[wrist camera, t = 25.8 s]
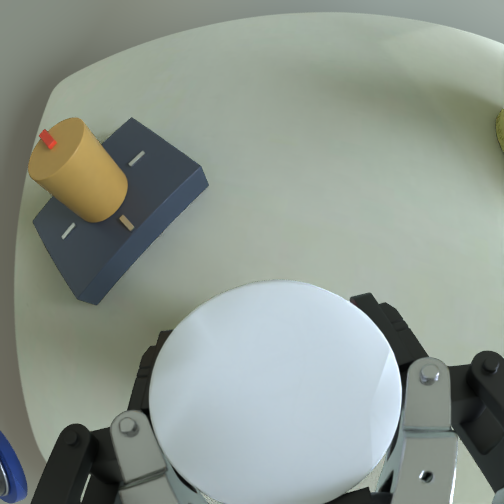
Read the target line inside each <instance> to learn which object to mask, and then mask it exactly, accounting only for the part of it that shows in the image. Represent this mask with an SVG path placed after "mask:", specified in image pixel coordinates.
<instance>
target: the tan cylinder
mask: <svg viewBox="0 0 504 504" xmlns="http://www.w3.org/2000/svg"><path fill="white" fill-rule="evenodd" d="M39 137H40V138H41V139H40V141H39V142H38V143H37V145H36V146H35V148H34V150H33V152H32V154H31V157H30V160H29V164H28V172H29V175H30V177H31V178H32V179H33V180H34V181H35V182H37V183H38V184H39V185H40V186H41V187H43V188H44V189H45V190H46V191H48V192H49V193H50V194H51V195H53V196H54V197H55V198H56V199H58V200H59V201H60V202H61V203H63V204H64V205H65V206H66V207H68V208H69V209H70V210H72V211H73V212H74V213H75V214H77V215H78V216H79V217H81V218H82V219H83V220H85V221H87V222H91V223H96V222H101V221H103V220H105V219H107V218H109V217H110V216H111V215H113V214H114V213H115V212H116V211H117V210H118V208H119V207H120V206H121V204H122V203H123V201H124V199H125V196H126V193H127V188H128V183H127V178H126V176H125V174H124V173H123V172H122V170H121V169H120V168H119V167H118V165H117V164H116V163H115V162H114V160H113V159H112V158H111V157H110V155H109V154H108V153H107V151H106V150H105V149H104V148H103V146H102V145H101V144H100V143H99V141H98V140H97V139H96V137H95V136H94V135H93V134H92V132H91V131H90V130H89V128H88V127H87V126H86V124H85V123H84V122H83V121H82V120H81V119H79V118H68V119H65V120H63V121H61V122H59V123H58V124H56V125H55V126H53V127H52V128H51V129H50V130H49V131H46V130H45V129H44V130H43V131H42V133H41V134H40V135H39Z"/></svg>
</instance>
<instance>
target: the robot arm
mask: <svg viewBox="0 0 504 504" xmlns="http://www.w3.org/2000/svg"><path fill="white" fill-rule="evenodd" d="M350 303H352V304H353V305H355V306H356V307H357V308H359V309H360V310H361V311H362V312H364V313H365V314H366V315H367V316H368V317H369V318H370V319H371V320H372V321H373V322H374V323H375V325H376V326H377V327H378V328H379V330H380V331H381V332H382V333H383V335H384V337H385V338H386V340H387V341H388V343H389V345H390V347H391V349H392V351H393V353H394V356H395V359H396V362H397V365H398V368H399V373H400V379H401V386H402V399H401V411H400V416H399V421H398V425H397V428H396V431H395V434H394V436H393V439H392V441H391V443H390V445H389V447H388V449H387V452H386V456H385V461H384V465H383V468H382V471H381V474H380V477H379V480H378V483H377V487H376V491H375V492H371V493H370V490H369V487H366V488H363V489H360V490H356V491H353V492H349V493H346V494H343V495H341V496H339V497H337V498H335V499H333V500H331V501H329V502H327V503H324V504H452V498H453V491H454V483H455V474H456V464H457V449H458V436H459V438H460V439H461V441H462V442H463V444H464V445H465V447H466V448H467V450H468V451H469V453H470V454H471V456H472V457H473V459H474V460H475V462H476V463H477V465H478V467H479V468H480V470H481V471H482V473H483V474H484V476H485V478H486V479H487V481H488V482H489V484H490V486H491V487H492V489H493V491H494V492H495V496H494V498H493V501H492V504H504V358H503V357H502V356H501V355H499V354H498V353H496V352H493V351H482V352H480V353H478V354H477V355H476V356H475V357H474V358H473V360H472V362H471V364H467V365H459V366H446V365H445V363H443V362H442V361H441V360H439V359H436V358H432V357H429V356H428V355H427V353H426V352H425V350H424V349H423V347H422V346H421V344H420V343H419V341H418V340H417V338H416V337H415V335H414V334H413V332H412V331H411V329H410V328H408V325H407V324H406V322H405V321H403V318H402V317H401V315H400V314H399V312H398V311H397V310H396V309H395V308H394V307H392V306H390V305H389V304H387V303H386V302H385V303H381V304H378V302H377V301H376V299H375V298H374V297H373V295H372V294H371V293H365V294H361V295H357V296H353V297H351V298H350ZM172 331H173V330H167V331H161V332H160V333H159V337H158V340H157V344H156V345H155V346H150V347H149V348H148V349H147V351H146V352H145V353H144V355H143V356H142V359H141V362H140V366H139V368H140V369H138V373H137V378H136V380H135V383H134V387H133V390H132V394H131V398H130V401H129V405H128V409H127V411H125V412H123V413H121V414H119V415H118V416H117V417H116V418H115V419H114V420H113V422H112V424H111V426H110V427H108V428H104V429H100V430H95V431H91V432H90V431H89V430H88V429H87V428H86V427H85V426H83V425H81V424H71V425H69V426H67V427H66V428H64V429H63V430H62V432H61V433H60V435H59V437H58V439H57V441H56V444H55V446H54V448H53V450H52V453H51V455H50V457H49V459H48V462H47V464H46V467H45V469H44V471H43V474H42V476H41V479H40V481H39V483H38V486H37V489H36V491H35V494H34V497H33V499H32V502H31V504H209V503H208V502H207V501H206V500H205V498H204V497H203V496H202V494H201V493H200V491H199V490H197V489H196V488H195V487H193V486H192V485H191V484H190V483H188V482H187V481H186V480H185V479H184V478H183V477H182V476H181V475H180V474H179V473H178V472H177V471H176V470H175V468H174V467H173V466H172V465H171V463H170V462H169V461H168V459H167V458H166V456H165V455H164V452H163V450H162V449H161V447H160V446H159V443H158V440H157V438H156V436H155V433H154V429H153V426H152V422H151V418H150V409H149V387H150V381H151V376H152V371H153V368H154V365H155V362H156V359H157V357H158V354H159V352H160V350H161V348H162V346H163V345H164V343H165V341H166V340H167V338H168V337H169V335H170V334H171V333H172ZM451 426H452V427H453V429H454V431H453V430H452V429H451ZM457 435H458V436H457ZM89 474H90V475H91V477H90V480H89V482H88V485H87V488H86V491H85V494H84V497H83V500H82V503H81V502H80V498H81V495H82V492H83V489H84V486H85V483H86V480H87V478H88V475H89ZM9 493H10V482H9V478H8V475H7V472H6V469H5V467H4V465H3V462H2V460H1V458H0V496H6V495H8V494H9Z"/></svg>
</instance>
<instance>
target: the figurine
mask: <svg viewBox="0 0 504 504" xmlns="http://www.w3.org/2000/svg"><path fill="white" fill-rule="evenodd" d="M496 134H497V138H498V141H499V143H500V146H501V148H502V150H503V152H504V109H502V110H501V112H500V113H499V115H498V116H497V119H496Z"/></svg>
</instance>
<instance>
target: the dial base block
mask: <svg viewBox="0 0 504 504" xmlns="http://www.w3.org/2000/svg"><path fill="white" fill-rule="evenodd" d="M101 145H102V146H103V148H104V149H105V150H106V151H107V153H108V154H109V155H110V157H111V158H112V159H113V160H114V162H115V163H116V164H117V165H118V167H119V168H120V169H121V170H122V172H123V173H124V174H125V176H126V178H127V183H128V188H127V193H126V196H125V199H124V201H123V203H122V204H121V206H120V207H119V208H118V210H117V211H116V212H115V213H114V214H113V215H111V216H110V217H109V218H107V219H105V220H103V221H101V222H96V223H91V222H87V221H85V220H83V219H82V218H81V217H79V216H78V215H77V214H75V213H74V212H73V211H72V210H70V209H69V208H68V207H66V206H65V205H64V204H63V203H61V202H60V201H59V200H58V199H56V198H55V197H54V196H52V198H51V199H50V200H49V201H48V202H47V204H46V205H45V206H44V207H43V209H42V210H41V211H40V212H39V214H38V215H37V216H36V217H35V219H34V220H33V224H34V226H35V228H36V230H37V232H38V234H39V236H40V238H41V239H42V241H43V243H44V245H45V247H46V249H47V251H48V252H49V254H50V256H51V258H52V259H53V261H54V263H55V265H56V266H57V268H58V270H59V271H60V273H61V275H62V276H63V278H64V280H65V281H66V283H67V284H68V286H69V288H70V289H71V291H72V292H73V294H74V295H75V297H76V298H77V299H78V300H81V301H84V302H88V303H91V304H94V305H97V304H98V303H99V302H100V301H101V300H102V298H103V297H104V296H105V295H106V294H107V293H108V291H109V290H110V289H111V288H112V287H113V286H114V284H115V283H116V282H117V281H118V280H119V279H120V278H121V276H122V275H123V274H124V273H125V272H126V271H127V270H128V268H129V267H130V266H131V265H132V264H133V263H134V262H135V261H136V260H137V258H138V257H139V256H140V255H141V254H142V253H143V252H144V251H145V250H146V249H147V248H148V247H149V245H150V244H151V243H152V242H153V241H154V240H155V239H156V238H157V237H158V236H159V235H160V234H161V233H162V232H163V231H164V230H165V229H166V228H167V226H168V225H169V224H170V223H171V222H172V221H173V220H174V219H175V218H176V217H177V216H178V215H179V214H180V213H181V212H182V211H183V210H184V209H185V208H186V207H187V206H188V205H189V204H190V203H191V202H192V201H193V200H194V199H195V198H196V197H197V196H198V195H199V194H200V193H201V192H202V191H203V190H204V189H206V188H207V187H208V186H209V184H208V182H207V179H206V177H205V174H204V172H203V170H202V167H201V166H200V165H199V164H197V163H196V162H195V161H193V160H192V159H191V158H189V157H188V156H186V155H185V154H184V153H182V152H181V151H179V150H178V149H177V148H175V147H174V146H172V145H171V144H170V143H168V142H167V141H165V140H164V139H162V138H161V137H160V136H158V135H157V134H155V133H154V132H152V131H151V130H150V129H148V128H147V127H145V126H144V125H142V124H141V123H139V122H138V121H137V120H135V119H134V118H132V117H131V118H130V119H129V120H128V121H127V122H126V123H124V124H123V125H122V126H121V127H120V128H119V129H118V130H116V131H115V132H114V133H113V134H112V135H111V136H110V137H109V138H108V139H107V140H106V141H105V142H103V143H102V144H101Z"/></svg>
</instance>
